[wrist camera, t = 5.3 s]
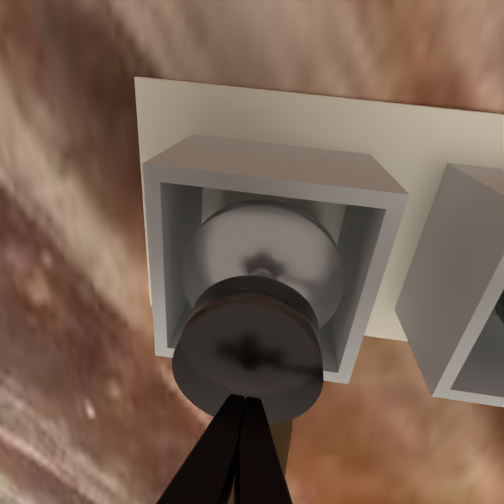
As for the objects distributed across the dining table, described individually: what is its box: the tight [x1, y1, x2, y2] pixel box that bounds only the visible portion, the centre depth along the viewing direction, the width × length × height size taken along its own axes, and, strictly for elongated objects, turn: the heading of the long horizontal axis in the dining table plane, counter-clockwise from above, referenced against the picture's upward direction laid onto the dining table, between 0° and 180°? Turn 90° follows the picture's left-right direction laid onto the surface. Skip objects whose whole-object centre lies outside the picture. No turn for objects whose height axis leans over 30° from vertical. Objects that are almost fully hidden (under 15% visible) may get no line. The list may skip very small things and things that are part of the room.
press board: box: [134, 77, 504, 407], centre depth 17 cm, size 28×14×8 cm, turn 85°
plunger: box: [172, 200, 344, 425], centre depth 12 cm, size 7×7×6 cm
